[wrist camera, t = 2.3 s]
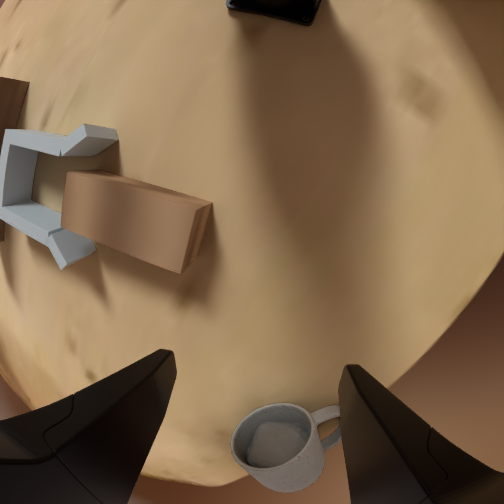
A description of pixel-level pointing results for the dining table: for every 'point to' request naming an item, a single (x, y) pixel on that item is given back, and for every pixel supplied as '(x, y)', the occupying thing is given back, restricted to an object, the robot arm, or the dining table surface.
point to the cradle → (21, 182)
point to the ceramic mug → (284, 445)
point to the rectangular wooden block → (135, 217)
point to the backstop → (10, 112)
